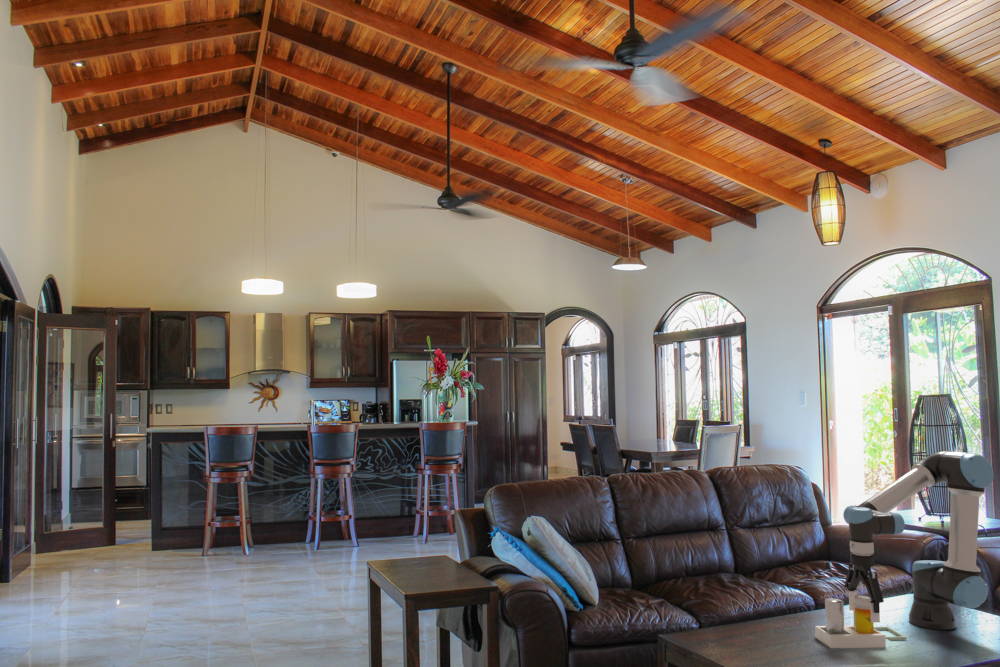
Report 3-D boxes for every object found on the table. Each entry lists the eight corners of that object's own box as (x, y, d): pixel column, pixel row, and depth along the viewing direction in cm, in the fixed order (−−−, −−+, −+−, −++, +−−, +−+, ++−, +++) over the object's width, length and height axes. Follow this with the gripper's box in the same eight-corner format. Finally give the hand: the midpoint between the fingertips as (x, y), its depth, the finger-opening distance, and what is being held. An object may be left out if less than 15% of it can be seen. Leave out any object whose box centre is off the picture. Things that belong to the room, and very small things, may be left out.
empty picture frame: (887, 629, 274) (887, 626, 274) (906, 639, 263) (906, 636, 263) (858, 630, 273) (858, 627, 273) (875, 640, 262) (875, 637, 262)
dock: (867, 638, 265) (867, 624, 265) (885, 648, 254) (885, 635, 254) (815, 639, 263) (815, 625, 264) (831, 650, 252) (831, 636, 253)
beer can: (876, 645, 255) (874, 599, 256) (857, 644, 256) (855, 599, 258) (871, 639, 261) (869, 595, 262) (852, 638, 262) (850, 594, 264)
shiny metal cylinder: (839, 639, 261) (837, 598, 262) (847, 645, 255) (846, 603, 256) (822, 639, 261) (821, 598, 262) (831, 645, 255) (830, 603, 256)
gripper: (833, 545, 273) (835, 605, 272) (871, 562, 248) (874, 627, 247) (853, 545, 274) (855, 605, 272) (893, 561, 249) (896, 627, 247)
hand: (864, 616), depth 259 cm, fingers open, 13 cm apart
